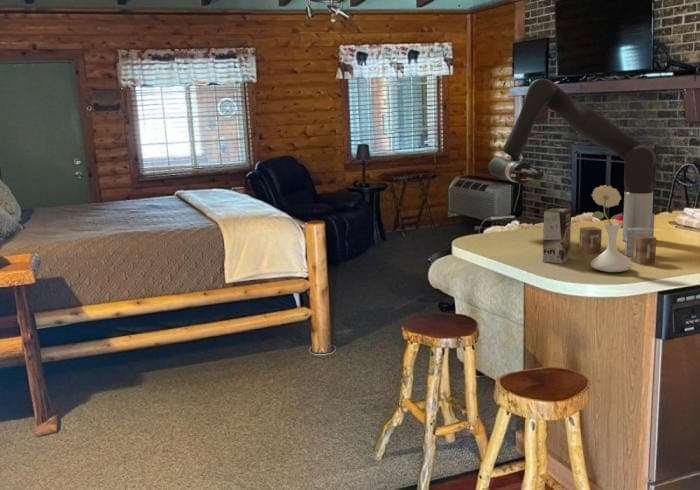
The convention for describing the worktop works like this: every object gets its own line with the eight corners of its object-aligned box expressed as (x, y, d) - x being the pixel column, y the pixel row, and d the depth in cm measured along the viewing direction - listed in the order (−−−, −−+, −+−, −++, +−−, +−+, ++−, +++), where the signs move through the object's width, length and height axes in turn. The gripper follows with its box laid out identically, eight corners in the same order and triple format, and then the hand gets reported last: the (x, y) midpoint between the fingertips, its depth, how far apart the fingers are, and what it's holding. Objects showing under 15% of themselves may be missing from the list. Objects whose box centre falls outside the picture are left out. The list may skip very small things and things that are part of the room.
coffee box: (562, 263, 207) (564, 212, 204) (541, 262, 210) (543, 211, 207) (570, 258, 214) (572, 208, 211) (550, 256, 218) (551, 207, 215)
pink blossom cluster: (634, 226, 265) (634, 216, 264) (617, 228, 263) (617, 217, 262) (620, 223, 273) (621, 213, 272) (603, 225, 270) (604, 215, 270)
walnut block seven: (593, 250, 225) (594, 226, 223) (601, 253, 219) (602, 229, 218) (578, 251, 224) (579, 227, 222) (586, 254, 219) (586, 230, 217)
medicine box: (651, 254, 215) (653, 227, 214) (652, 257, 211) (654, 230, 209) (625, 253, 218) (626, 227, 216) (625, 256, 214) (627, 229, 212)
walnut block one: (645, 260, 208) (647, 234, 206) (655, 263, 203) (656, 237, 201) (630, 261, 207) (631, 235, 206) (639, 264, 202) (640, 238, 201)
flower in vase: (640, 270, 195) (644, 185, 190) (616, 277, 189) (620, 189, 184) (600, 263, 206) (603, 182, 201) (577, 269, 199) (580, 185, 195)
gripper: (501, 162, 238) (519, 166, 221) (536, 160, 240) (557, 164, 223) (500, 183, 240) (519, 188, 223) (536, 181, 241) (557, 186, 224)
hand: (538, 176), depth 223 cm, fingers closed
